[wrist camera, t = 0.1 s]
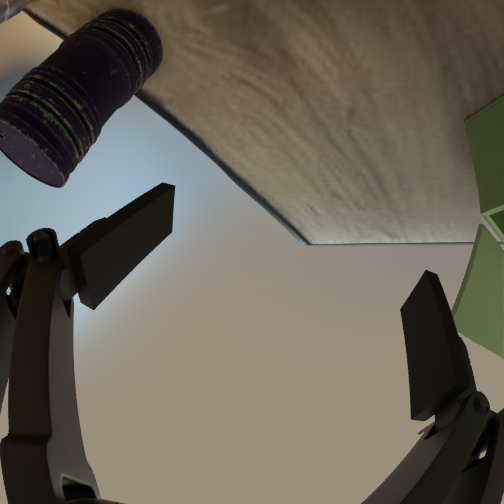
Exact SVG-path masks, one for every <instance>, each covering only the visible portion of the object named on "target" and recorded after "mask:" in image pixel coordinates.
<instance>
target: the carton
mask: <svg viewBox="0 0 504 504" xmlns="http://www.w3.org/2000/svg"><path fill="white" fill-rule="evenodd" d="M464 123H465V127H466V131H467V135H468V139H469V143H470V147H471V152H472V157H473V162H474V167H475V173H476V179H477V186H478V193H479V201H480V211H481V215H482V216H483V217H484V219H485V220H486V221H487V222H488V224H489V225H490V226H491V227H492V229H493V230H494V231H495V233H496V234H497V235H498V237H499V238H500V239H501V241H502V242H503V244H504V95H503V96H501V97H500V98H498V99H497V100H495V101H493V102H492V103H490V104H489V105H487V106H486V107H484V108H483V109H481V110H480V111H478V112H477V113H475V114H474V115H472V116H471V117H469V118H468V119H466V120H465V121H464Z"/></svg>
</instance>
